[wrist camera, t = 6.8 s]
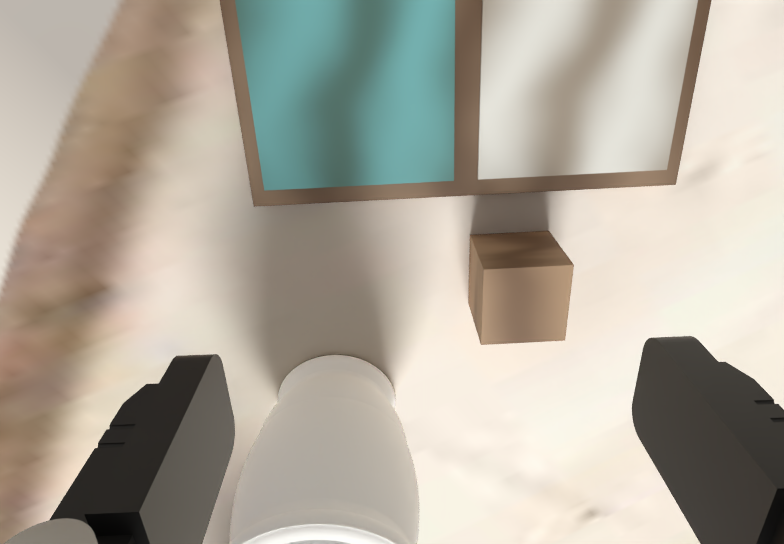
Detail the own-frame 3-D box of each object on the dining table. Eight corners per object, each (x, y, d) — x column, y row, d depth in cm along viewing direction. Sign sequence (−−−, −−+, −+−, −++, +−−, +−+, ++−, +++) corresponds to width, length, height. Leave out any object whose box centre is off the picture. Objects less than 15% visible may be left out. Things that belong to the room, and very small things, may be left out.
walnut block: (548, 230, 35) (573, 264, 31) (542, 298, 37) (564, 340, 33) (469, 234, 35) (483, 269, 31) (468, 302, 37) (480, 344, 33)
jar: (407, 336, 38) (426, 520, 25) (411, 448, 43) (428, 654, 30) (254, 343, 38) (189, 532, 25) (274, 455, 43) (229, 665, 29)
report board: (714, -71, 28) (727, -73, 27) (667, 179, 34) (677, 185, 33) (217, -46, 28) (210, -48, 27) (257, 200, 34) (253, 207, 32)
